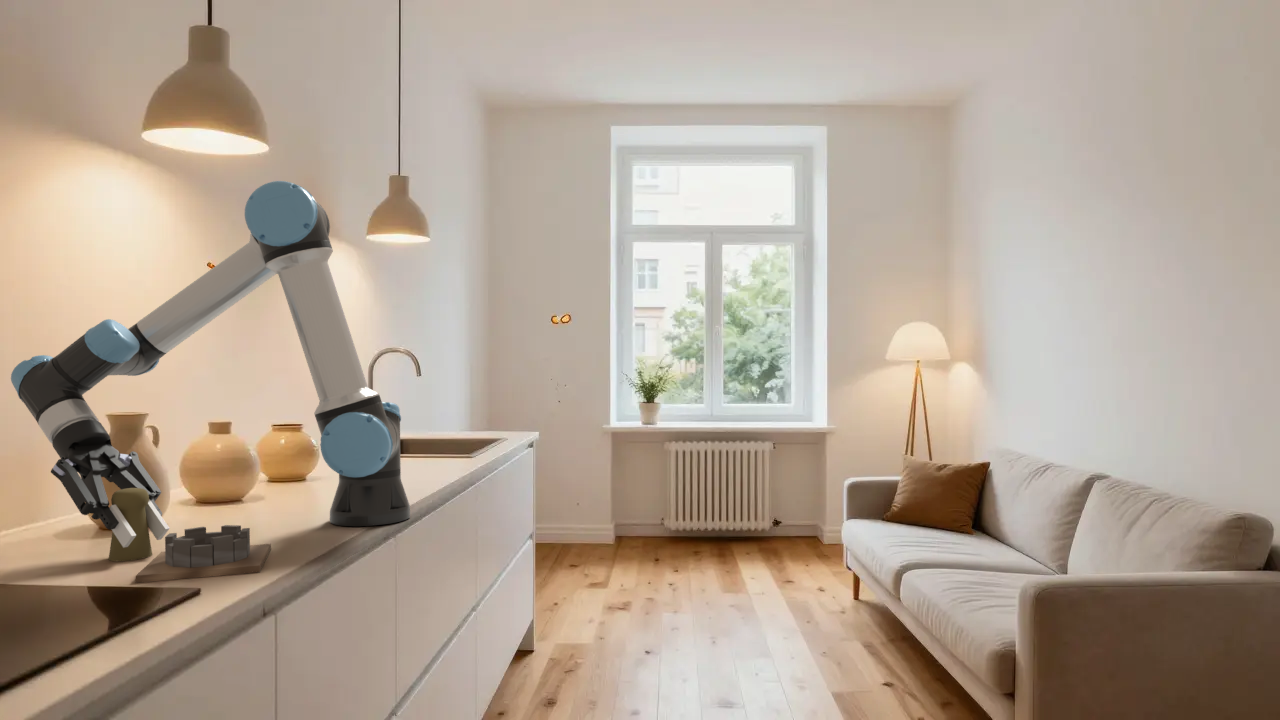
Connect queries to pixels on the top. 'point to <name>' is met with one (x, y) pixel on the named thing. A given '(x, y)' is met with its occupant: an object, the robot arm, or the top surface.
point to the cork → (132, 525)
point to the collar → (206, 555)
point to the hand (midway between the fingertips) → (146, 537)
